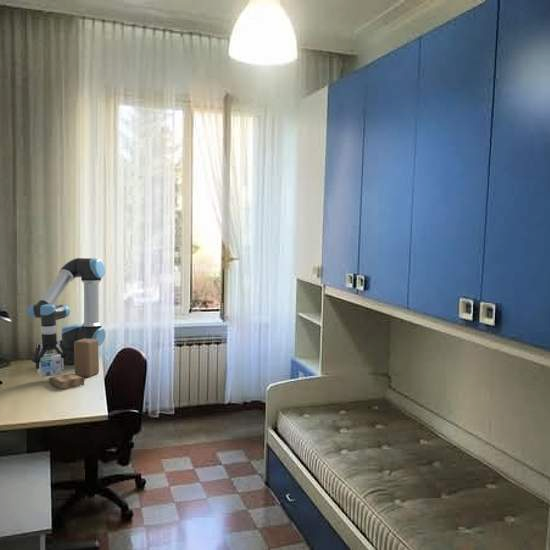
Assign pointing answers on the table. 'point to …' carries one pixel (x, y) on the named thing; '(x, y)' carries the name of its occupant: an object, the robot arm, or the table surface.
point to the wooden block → (86, 357)
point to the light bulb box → (50, 365)
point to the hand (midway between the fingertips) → (50, 371)
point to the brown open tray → (66, 381)
